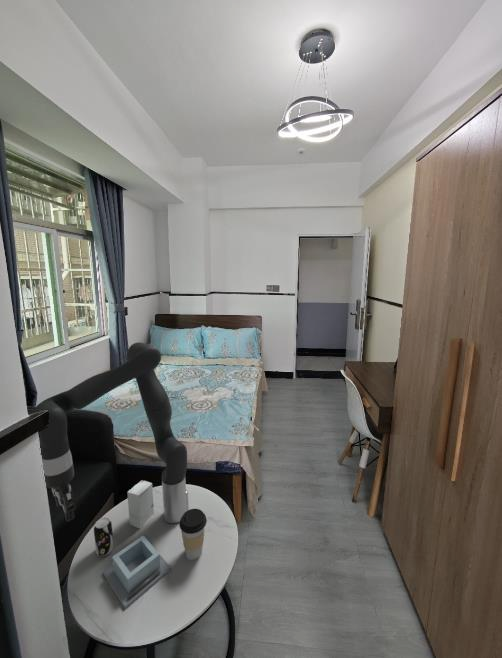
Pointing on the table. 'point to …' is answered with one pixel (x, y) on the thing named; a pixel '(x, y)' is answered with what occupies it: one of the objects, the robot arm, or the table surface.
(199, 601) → the table surface
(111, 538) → the beverage can
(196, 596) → the table surface
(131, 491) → the skincare box
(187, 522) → the coffee cup
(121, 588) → the hollow square can holder
